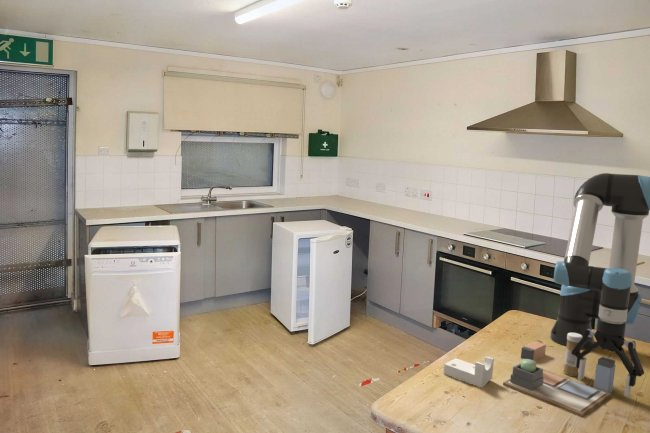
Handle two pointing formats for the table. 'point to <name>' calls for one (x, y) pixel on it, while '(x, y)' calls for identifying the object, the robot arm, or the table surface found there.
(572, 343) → the sprinkles bottle
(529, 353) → the terracotta marker
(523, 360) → the button
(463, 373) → the bracket
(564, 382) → the wood rimmed sorting board
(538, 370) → the button housing
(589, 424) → the table surface
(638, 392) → the table surface
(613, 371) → the grey square prism
